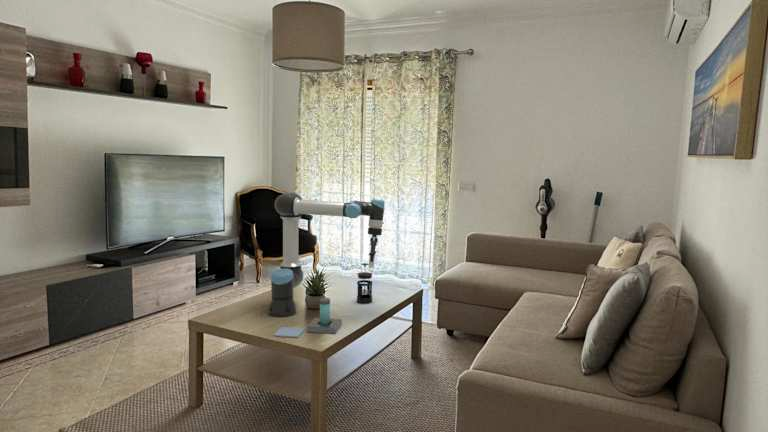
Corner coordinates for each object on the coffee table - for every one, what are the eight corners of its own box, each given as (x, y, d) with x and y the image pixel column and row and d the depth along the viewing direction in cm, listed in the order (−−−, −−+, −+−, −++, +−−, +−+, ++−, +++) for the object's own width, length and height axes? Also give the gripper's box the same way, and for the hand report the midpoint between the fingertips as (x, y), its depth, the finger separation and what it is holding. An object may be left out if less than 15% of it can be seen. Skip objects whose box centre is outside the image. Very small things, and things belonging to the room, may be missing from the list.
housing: (307, 332, 261) (307, 326, 260) (314, 323, 274) (314, 317, 274) (335, 333, 259) (335, 327, 258) (341, 324, 272) (341, 319, 272)
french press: (362, 298, 323) (363, 261, 320) (375, 300, 318) (376, 263, 315) (352, 303, 312) (352, 264, 310) (365, 305, 308) (366, 266, 305)
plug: (318, 329, 264) (318, 300, 263) (321, 326, 269) (321, 297, 268) (328, 330, 264) (328, 300, 262) (330, 327, 269) (331, 298, 267)
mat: (273, 336, 254) (273, 334, 253) (281, 328, 265) (281, 326, 265) (298, 338, 252) (298, 336, 252) (305, 329, 264) (305, 328, 264)
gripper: (382, 229, 277) (377, 269, 278) (382, 227, 302) (378, 264, 303) (367, 227, 277) (363, 268, 278) (368, 226, 302) (365, 263, 303)
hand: (371, 266), depth 290 cm, fingers open, 13 cm apart
